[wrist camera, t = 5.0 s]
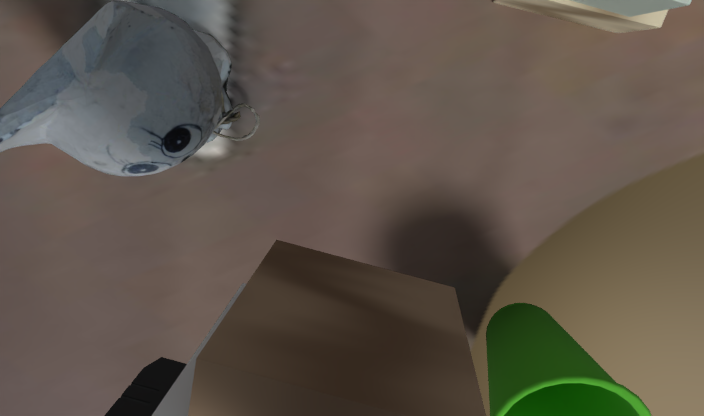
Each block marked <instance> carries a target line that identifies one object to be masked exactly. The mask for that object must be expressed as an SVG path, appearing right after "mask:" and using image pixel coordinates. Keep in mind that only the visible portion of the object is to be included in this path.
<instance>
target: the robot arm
mask: <svg viewBox="0 0 704 416" xmlns="http://www.w3.org/2000/svg"><path fill="white" fill-rule="evenodd" d="M245 286H246V284H244V283H243V284H242V285H241V287H240V288H239V289H238V291H237V292H236V294H235V295H234V297H233V298H232V300H231V301H230V303H229V304H228V305H227V307H226V308H225V310H224V311H223V313H222V314H221V316H220V317H219V319H218V320H217V321H216V323H215V324H214V326H213V327H212V329H211V330H210V332H209V333H208V335H207V336H206V337H205V339H204V340H203V342H202V343H201V345H200V346H199V348H198V349H197V350H196V352H195V353H194V355H193V356H192V358H191V359H190V361H189V362H188V364H185V363H181V362H177V361H174V360H170V359H166V358H163V357H161V358H159V359H158V360H156V361H154V362H153V363H151V364H149V365H148V366H146V367H144V368H143V369H142V371H141V372H140V373H139V374H138V376H137V377H136V378H135V379H134V380H133V382H132V384H131V386H130V385H129V387H128V388H127V389H126V390H125V391H124V393H123V394H122V396H121V398H119V399H118V400H117V401H116V402H115V404H114V405H113V406H112V407H111V408H110V410H109V411H108V412H107V413H106V415H105V416H188V412H189V405H190V398H191V391H192V385H193V378H194V371H195V364H196V358H197V357H198V355H199V354H200V352H201V351H202V349H203V348H204V346H205V345H206V343H207V342H208V340H209V339H210V337H211V336H212V334H213V333H214V332H215V330H216V329H217V327H218V326H219V324H220V323H221V321H222V320H223V318H224V317H225V315H226V314H227V312H228V311H229V309H230V308H231V306H232V305H233V303H234V302H235V301H236V299H237V298H238V296H239V295H240V293H241V292H242V290H243V289H244V287H245Z"/></svg>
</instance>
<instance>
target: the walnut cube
mask: <svg viewBox="0 0 704 416" xmlns="http://www.w3.org/2000/svg"><path fill="white" fill-rule="evenodd" d="M188 416H486V414H485V409H484V405H483V401H482V397H481V393H480V389H479V385H478V381H477V377H476V373H475V369H474V365H473V361H472V356H471V352H470V348H469V344H468V340H467V336H466V332H465V328H464V324H463V320H462V316H461V311H460V307H459V303H458V299H457V295H456V291H455V288H454V287H451V286H447V285H443V284H439V283H436V282H432V281H428V280H424V279H421V278H417V277H413V276H410V275H406V274H402V273H398V272H395V271H391V270H387V269H383V268H380V267H376V266H372V265H369V264H365V263H361V262H357V261H354V260H350V259H346V258H342V257H339V256H335V255H331V254H328V253H324V252H320V251H316V250H313V249H309V248H305V247H301V246H298V245H294V244H290V243H287V242H283V241H279V240H276V242H275V243H274V245H273V246H272V247H271V249H270V250H269V252H268V253H267V255H266V256H265V258H264V259H263V261H262V262H261V264H260V265H259V267H258V268H257V270H256V271H255V273H254V274H253V275H252V277H251V278H250V280H249V281H248V283H247V284H246V286H245V287H244V289H243V290H242V292H241V293H240V295H239V296H238V298H237V299H236V301H235V302H234V303H233V305H232V306H231V308H230V309H229V311H228V312H227V314H226V315H225V317H224V318H223V320H222V321H221V323H220V324H219V326H218V327H217V329H216V330H215V332H214V333H213V334H212V336H211V337H210V339H209V340H208V342H207V343H206V345H205V346H204V348H203V349H202V351H201V352H200V354H199V355H198V357H197V358H196V364H195V371H194V378H193V385H192V391H191V398H190V405H189V412H188Z"/></svg>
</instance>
